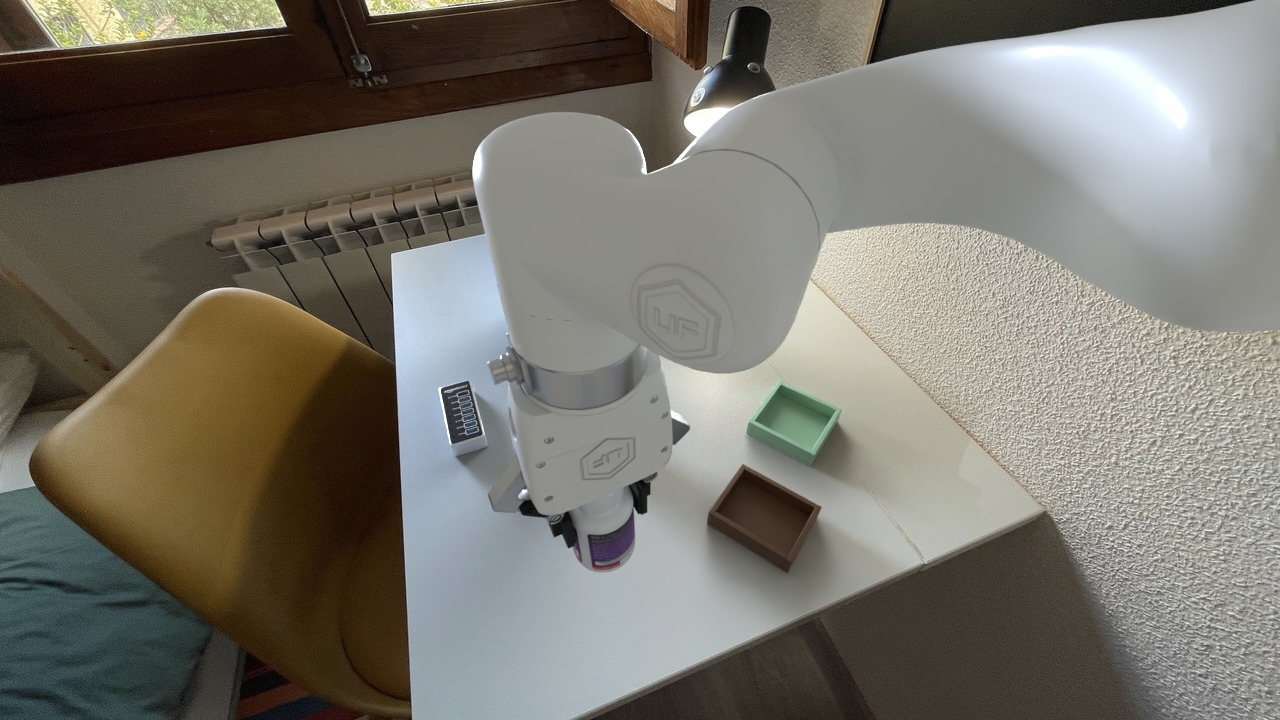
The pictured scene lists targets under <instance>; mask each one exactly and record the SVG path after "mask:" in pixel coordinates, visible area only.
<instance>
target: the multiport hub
mask: <svg viewBox="0 0 1280 720" xmlns="http://www.w3.org/2000/svg"><path fill="white" fill-rule="evenodd" d="M438 393H439V399H440V403H441V409H442V413H443V419H444V423H445V427H446V428H445V429H446V432H447V437H448V442H449V446H450V449H451V451H452V453H453V456H454V457H460V456H462V455H463V456H464V455H466V454H468V453H469V454H470V453H472V452H476V451H478V450H482V449H485V448H487V447H488V445H489V443H488V439H487V435H486V431H485V427H484V424H483V419H482V417H481V413H480V409H479V405H478V402H477V397H476V393H475V389H474V387H473V383H472V381H471V380H470V379H466V380H462V381H459V382H456V383H451V384H447V385H444V386H441V387H439V388H438Z"/></svg>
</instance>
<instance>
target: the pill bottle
mask: <svg viewBox="0 0 1280 720" xmlns="http://www.w3.org/2000/svg"><path fill="white" fill-rule="evenodd" d="M568 512H569V514H570V516H571V519H572V523H573V528H574V533H575V539H576V543H575V544H574V546H573V547H571V548H572V551H573V554H574V556H575V558H576V560H577V561H578V563H579V564H580V565H581V566H582V567H584V568H585V569H587V570H588V571H591V572H594V573H601V574H602V573H603V574H604V573H610V572H614V571H616V570H618V569H620V568H622V567H623V566H624V565H625V564H627V563H628V561H629V560H630V559H631V558H632V555H633V553H634V551H635V546H636V527H635V508H634V501H633V494H632V491H631V489H630V487H629V485H628V486H626V487H623V488H621V489H619V490H617V491H614V492H612V493H610V494H607V495H605V496H603V497H600V498H598V499H596V500H593V501H591V502H589V503H586V504H584V505H582V506H579V507H577V508H575V509H572V510H570V511H568Z"/></svg>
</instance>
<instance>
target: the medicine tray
mask: <svg viewBox="0 0 1280 720" xmlns="http://www.w3.org/2000/svg"><path fill="white" fill-rule="evenodd" d="M842 411H843V409H842V408H840V407H838V406H835V405H833V404H831V403H830V402H826V401H824V400H822V399H820V398H819V397H816V396H814V395H812V394H809V393H807V392H805V391H803V390H801V389H799V388H796V387H794V386H792V385H790V384H787V383H785V382H783V381H781V380H778V381H777V383H776V384H775V385H774V387H773V388H772V389H771V390H770V392H769V393H768V395H767V396H766V398H765V399H764V400H763V402H762V403H761V404H760V406H759V407H758V408H757V409H756V411H755V412H754V414H752V416H751V417H750V419H749V420H748V422H747V428H746V432H745V434H746V435H748V436H750V437H752V438H753V439H756V440H757V441H759V442H761V443H764V444H765V445H767V446H769V447H771V448H773V449H775V450H777V451H779V452H780V453H783V454H784V455H787V456H789V457H791V458H793V459H794V460H797V461H798V462H800V463H802V464H804V465H806V466H808V467H812V465H813V463H814V462H815V461H816V458H817V457H818V455H819V454H820V452H821V451H822V448H823V447H824V445H825V443H826V441H827V440H828V438H829V436H830V435H831V433H832V431H833V430H834V428H835V426H836V425H837V423H838V420H839V418H840V416H841V413H842Z"/></svg>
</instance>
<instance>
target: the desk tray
mask: <svg viewBox="0 0 1280 720" xmlns="http://www.w3.org/2000/svg"><path fill="white" fill-rule="evenodd" d="M821 510H822V506H821V505H819V504H817V503H816V502H814V501H812V500H810V499H808V498H806V497H805V496H802V495H801V494H799V493H797V492H795V491H794V490H792V489H790V488H788V487H787V486H784V485H782V484H781V483H779V482H777V481H775V480H773V479H772V478H769V477H768V476H766V475H764V474H762V473H760V472H759V471H757V470H755V469H753V468H751V467H749V466H748V465H746V464H744V463H742V464H741V465H740V467H739V468H738V469H737V470H736V472H735V474H734V475H733V477H732V478H731V479H730V481H729V483H728V484H727V485H726V487H725V488H724V490H723V491H722V492H721V494H720V495H719V497H718V498H717V500H716V501H715V502H714V504H713V505H712V507H711V508H710V510H709V511H708V514H707V520H706V524H707V525H709V526H710V527H712V528H713V529H714V530H717V531H718V532H719V533H721V534H723V535H725V536H726V537H728V538H729V539H731V540H733V541H735V542H736V543H737V544H739V545H741V546H742V547H744V548H746V549H748V550H749V551H751V552H753V553H754V554H756V555H757V556H759V557H761V558H762V559H764V560H765V561H767V562H768V563H770V564H772V565H773V566H775V567H777V569H780V570H781V571H783V572H784V573H786V574H788V573H789V571H790V569H791V567H792V565H793V564H794V562H795V560H796V559H797V556H798V555H799V552H800V551H801V549H802V548H803V545H804V543H805V541H806V539H807V537H808V536H809V534H810V532H811V530H812V529H813V526H814V524H815V523H816V521H817V519H818V517H819V515H820V512H821Z"/></svg>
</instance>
